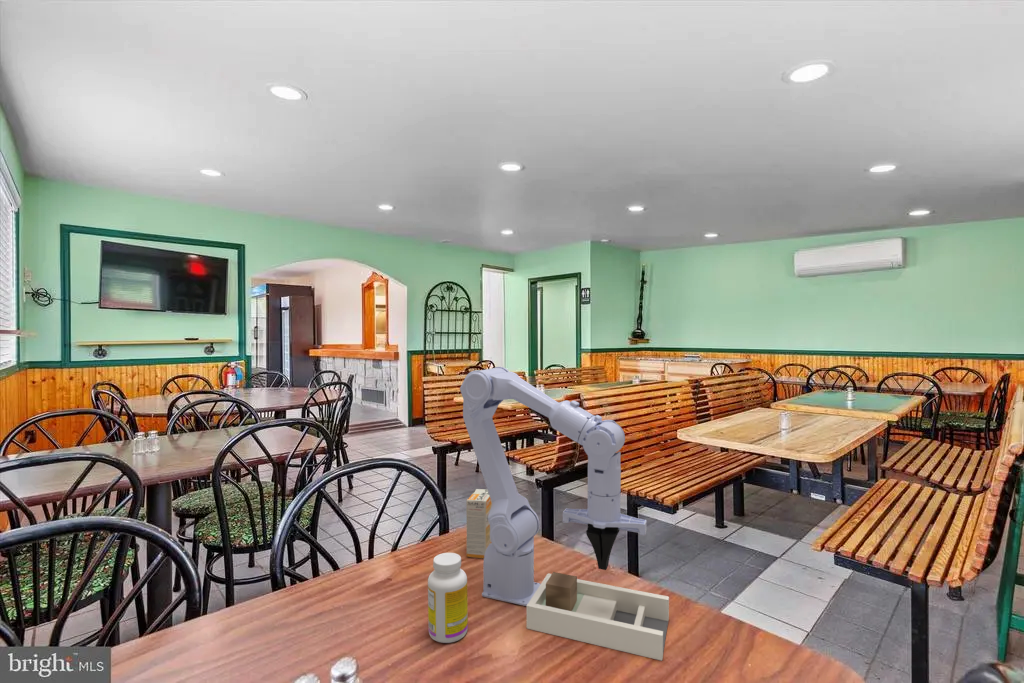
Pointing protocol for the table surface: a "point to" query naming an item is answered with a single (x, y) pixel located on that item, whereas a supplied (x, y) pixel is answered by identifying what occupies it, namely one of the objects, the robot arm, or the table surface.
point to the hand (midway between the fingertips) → (603, 567)
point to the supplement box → (478, 523)
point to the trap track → (606, 618)
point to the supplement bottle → (447, 599)
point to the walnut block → (561, 591)
